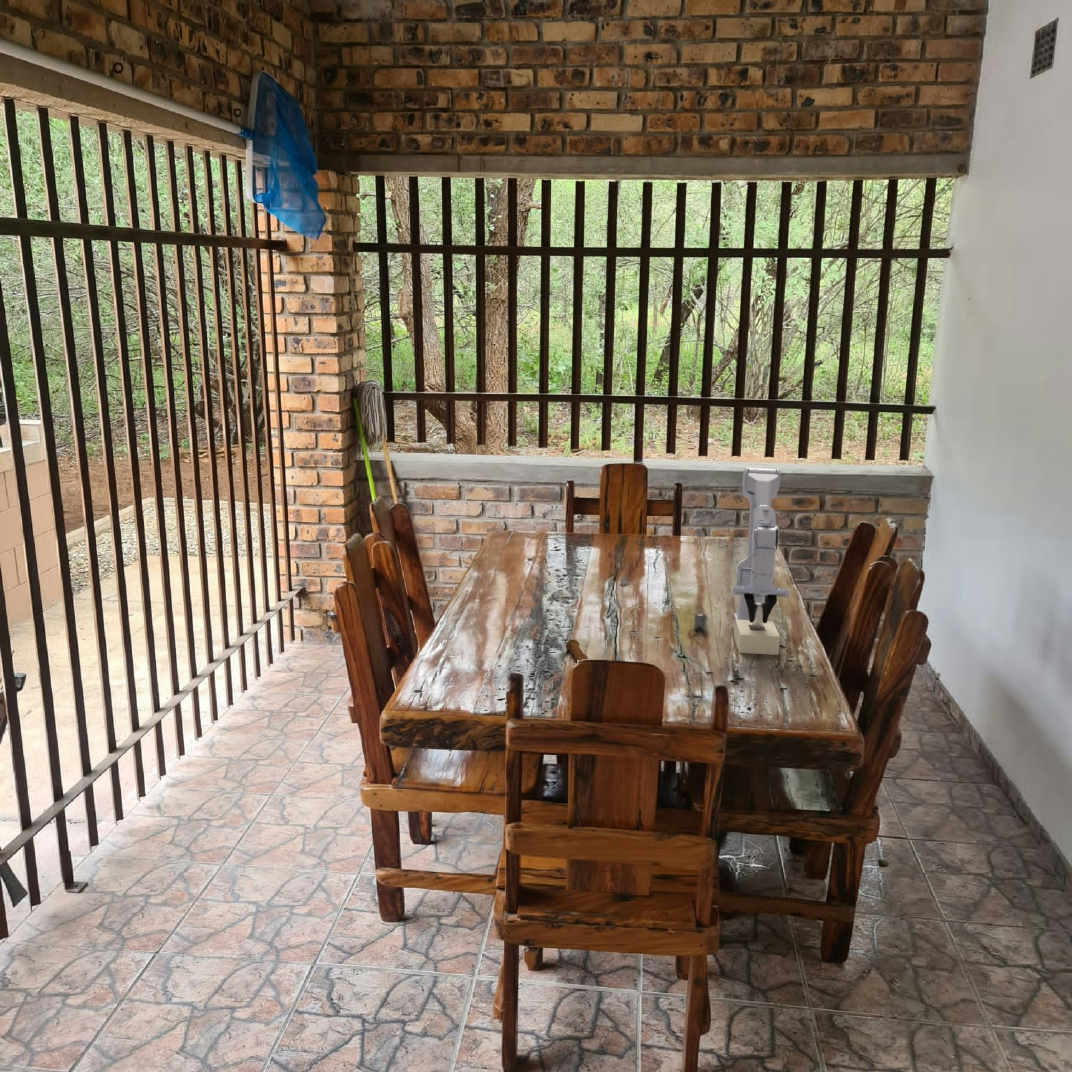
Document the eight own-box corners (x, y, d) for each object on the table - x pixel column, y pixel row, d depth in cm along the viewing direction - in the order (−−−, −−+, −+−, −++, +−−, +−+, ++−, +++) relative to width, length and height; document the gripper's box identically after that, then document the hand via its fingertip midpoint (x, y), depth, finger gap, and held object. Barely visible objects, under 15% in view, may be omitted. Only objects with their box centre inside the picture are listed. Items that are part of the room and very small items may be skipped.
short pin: (693, 627, 267) (694, 612, 266) (704, 628, 267) (705, 613, 266) (694, 631, 264) (695, 616, 263) (705, 632, 264) (706, 616, 263)
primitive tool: (604, 678, 231) (605, 665, 230) (583, 680, 230) (583, 667, 229) (578, 650, 249) (578, 637, 248) (558, 652, 247) (558, 639, 246)
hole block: (733, 636, 261) (735, 619, 260) (771, 638, 260) (772, 621, 259) (739, 652, 249) (740, 634, 248) (778, 654, 248) (780, 636, 247)
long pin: (750, 630, 255) (752, 601, 253) (761, 630, 255) (764, 602, 253) (751, 634, 252) (754, 605, 250) (763, 634, 252) (766, 605, 250)
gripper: (735, 575, 246) (731, 625, 250) (793, 577, 245) (788, 628, 249) (732, 567, 253) (728, 616, 256) (788, 570, 252) (783, 619, 255)
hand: (757, 621), depth 253 cm, fingers closed on long pin, 3 cm apart
